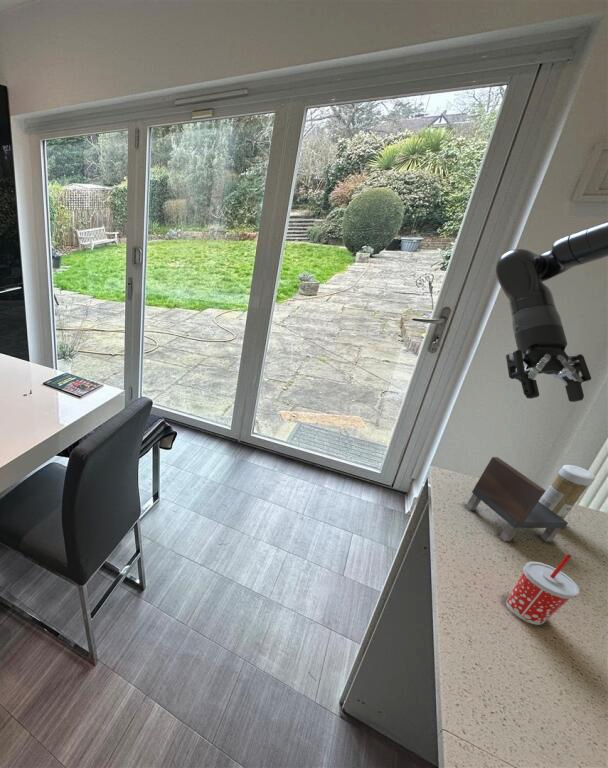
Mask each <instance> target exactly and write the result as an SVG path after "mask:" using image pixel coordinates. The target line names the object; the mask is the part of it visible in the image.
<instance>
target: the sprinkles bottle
mask: <svg viewBox="0 0 608 768" xmlns="http://www.w3.org/2000/svg"><path fill="white" fill-rule="evenodd" d="M595 480H596V476H595V474H594V473H593V472H591V471H590V470H587V469H585V468H583V467H581V466H577V465H573V464H564V465H563V466H562V467H561V468H560V469H559V471H558V474H557V476H556V477H555V478H554V480H553V481H552V483H551V484H550V485H549V487H548V488H547V490H546V491H545V493H544V494H543V495H542V497H541V498H540V500H539V502H540V503H542V504H543V505H544V506H546V507H547V508H549V509H550V510H551V511H553V512H554V513H555V514H557V515H558V516H560V517H561V518H562V519H564V520H565V518H566V516H568V515H569V514H570V512H571V511H572V509H573V507H574V506H575V505H576V503H577V502H578V501H579V500H580V497H581V496H582V495H583V493H584V492H585V491H586V490H587V488H588V487H590V486H591V485H592V484H593V483H594V481H595Z"/></svg>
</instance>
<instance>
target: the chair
mask: <svg viewBox="0 0 608 768" xmlns="http://www.w3.org/2000/svg"><path fill="white" fill-rule="evenodd" d="M546 491H547V490H546V489H545V488H543V487H541V486H540V485H539V484H538V483H536V482H534V481H533V480H532V479H530V478H529V477H527V476H526V475H524V474H523V473H521V472H520V471H518V470H517V469H516V468H514V467H513V466H511V465H510V464H508V463H507V462H506V461H504V460H503V459H502V458H500V457H498V456H492V457H491V459H490V460H489V462H488V463H487V465H486V466H485V469H484V471H483V472H482V474H481V475H480V477H479V479H478V481H477V482H476V483H475V486H474V487H473V489H472V491H471V493H472V494H471V496H470V498H469V499H468V501H467V502H466V504H465V507H466V508H467V509H468V510H469V511H476V509H477V508H478V506H479V504H480V503H481V502H482V503H484V504H485V505H486V506H487V507H489V508H490V510H492V511H494V513H496V515H498V516H500V517H501V518H502V519H503V520H504V521H505V522H507V525H506V526H505V527H504V529H503V530H502V532H501V533H500V535H499V538H501V539H502V540H503V541H504V542H511V541H512V539H514V537H515V535H516V534H517V532H518V531H519V529H544V530H543V532H542V534H541V535H540V536H539V537H540V538H541V539H542V541H545V542H552V541H553V540H554V539H555V537H556V536H557V535H558V533H560V531H561V529H565V527H566V526H567V525H568V524H569V522H568V521H567V520H565V518H564V519H562V518H561V517H560V516H558V515H557V514H555V513H554V512H553V511H551V510H550V509H549V508H547V507H546V506H544V505H543V504H542V503H540V502H539V501H540V500H541V498H542V497H543V495H544V494H545V492H546Z"/></svg>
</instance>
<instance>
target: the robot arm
mask: <svg viewBox="0 0 608 768" xmlns="http://www.w3.org/2000/svg"><path fill="white" fill-rule="evenodd" d="M604 258H608V220H607V221H604V222H600V223H598V224H594V225H592V226H589V227H587V228H584V229H582V230H579V231H576V232H573V233H570V234H568V235H565V236H563V237H560V238H559V239H557V240H555V241H554V242H553V244H552V245H551V249H550V250H547V251H545V252H543V253H540V254H537V253H535V252H533V251H532V250H528V249H524V248H515V249H511V250H508V251H506V252H504V253H503V254H502V255H501V256H500V257H499V258H498V259H497V261H496V264H495V268H494V273H495V276H496V279H497V282H498V284H499V285H500V288H501V289H502V292H503V293H504V295H505V296H506V298H507V301H508V306H509V312H510V315H511V327H512V331H513V336H514V339H515V344H516V348H517V350H514V351H512V352H509V353H507V354H505V359H506V365H507V373H508V377H509V379H511V380H517V381H518V382H519V383H521V387H522V392H523V395H524V396H525V398H526V399H536V398H538V397H540V391H539V387H538V383H537V380H536V379H535V378H536V377H537V375H538V374H545V375H552V376H553V377H554V378H555V379H559V380H560V381H561V382H563V383H564V384H565V386H564V387H565V391H566V395H567V398H568V401H569V402H570V403H576V402H580V401H583V400H584V398H585V394H584V390H583V386H582V383H585V382H588V381H591V380H592V376H591V373H590V371H589V367H588V365H587V362H586V359H585V356H584V355H583V354H580V353H578V354H576V355H568V354H567V353H566V351H565V349H566V347H567V346H568V340H567V337H566V333H565V330H564V326H563V322H562V319H561V316H560V314H559V312H558V310H557V307H556V304H555V300H554V296H553V293H552V291H551V289H550V288H549V286H547V285H546V284H545V283H544V282H546V281H549V280H550V279H553V278H555V277H557V276H559V275H561V274H563V273H565V272H567V271H569V270H571V269H573V268H575V267H579V266H582V265H585V264H589V263H592V262H595V261H597V260H602V259H604ZM563 370H564V371H563ZM580 374H581V375H580ZM569 377H570V378H569Z"/></svg>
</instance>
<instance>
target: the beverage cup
mask: <svg viewBox="0 0 608 768" xmlns="http://www.w3.org/2000/svg"><path fill="white" fill-rule="evenodd" d="M571 558H572V555H571V554H566V555H565V556H564V558H563V559H562V560H561V562H560V563H559V564H558V565H557V566H556V567H553V566H551V565H549V564H546V563H543V562H540V561H528V562H526V563H525V564H524V566H523V569H522V574H521V575H520V577H519V578H518V580H517V582H516V584H515V585H514V587H513V589H512V590H511V592H510V594H509V595H508V597H507V599H506V601H505V604H506V606H507V608H508V610H510V611H511V613H512V614H513V615H514V616H516V617H518V618H519V619H520V620H522V621H524V622H526V623H528V624H532V625H537V626H541V625H543V624H545V623H546V622H547V621H548V620H549V619H550V618H551V617H552V616H553V615H554V614H556V612H557V611H559V609H561V608H562V606H564V605H565V604H566V603H567V602H568V601H569V600H570V599H574V598H575V597H576V596H578V595H579V594H580V588H579V586H578V584H577V582H575V581H574V580H573V579H572V577H570V576H569V575H567V574H565V573H564V572H562V569H563V568H564V567H565V566H566V564H567V563H568V562H569V561H570V560H571Z"/></svg>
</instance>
